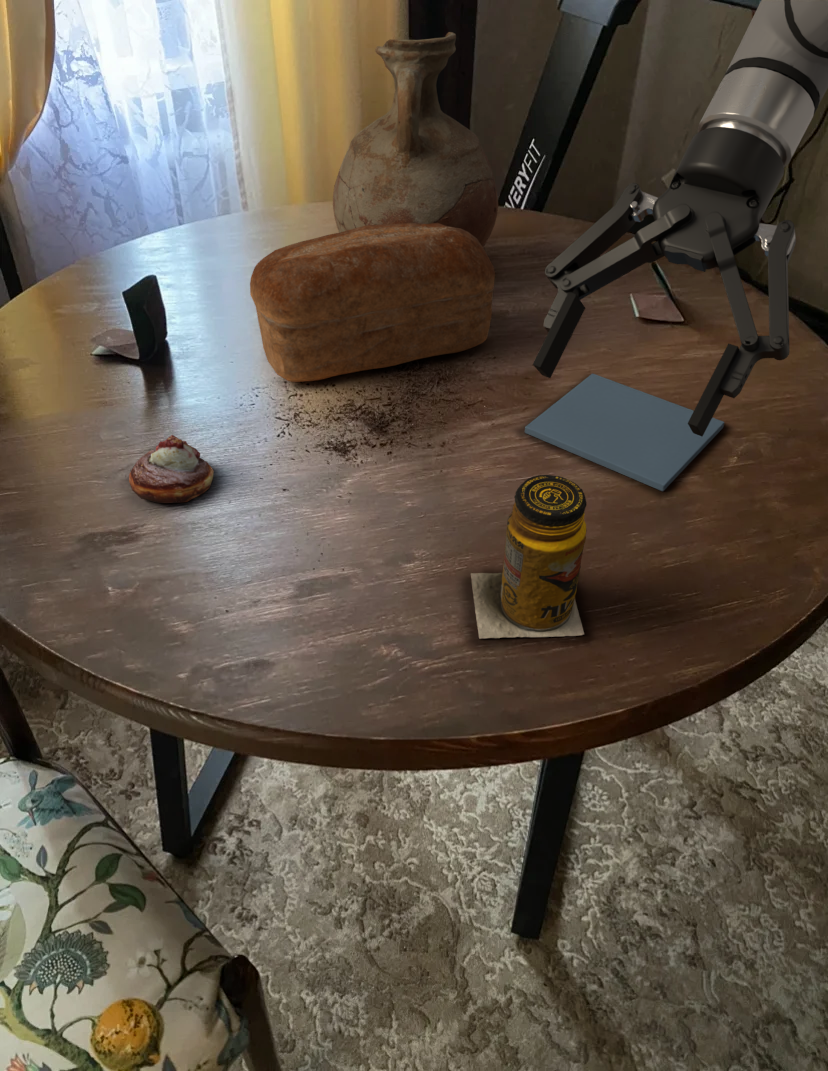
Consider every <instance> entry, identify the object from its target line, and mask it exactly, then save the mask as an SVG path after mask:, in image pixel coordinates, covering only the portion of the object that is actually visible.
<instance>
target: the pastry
mask: <svg viewBox="0 0 828 1071" xmlns="http://www.w3.org/2000/svg"><path fill="white" fill-rule="evenodd" d="M157 444H158V445H156V447H155V449H152V450H149V451H147V452H146V453H145V454H144V455H142V456H141V457H139V459H138V460H137V461H136V462H135V463H134V466H133V467H132V469H131V470H130V472H129V474H128V482H129V485H130V488H131V491H132V492H133V493H134V494H135V495H136V496H138V497H139V499H141V500H145V501H149V502H153V503H158V504H175V503H176V504H177V503H187V502H190V501H191V500H194V499H195V498H197V497H199V496H201V495H202V494H205V492H206V491H207V490H209V489H210V488H211V486H212V482H213V480H214V472H215V471H214V469H213V468H212V466H211V465H210V464H209V462H208V461H207V460H205V459H203V458H201V452H200V451H199V450H198V449H197V448H196V447H193V446H191V445H190V444H188V442H187V441H186V440H183V439H181V438H178V437H177V436H175V435H174V434H171V435H170V436H168V437H167V438H166V439H165V440H163V441H161V440H160V441H159V443H157Z"/></svg>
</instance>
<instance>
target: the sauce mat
mask: <svg viewBox="0 0 828 1071" xmlns="http://www.w3.org/2000/svg"><path fill="white" fill-rule="evenodd" d="M693 412H694V409H690V408H687V407H685V406H682V405H680V404H677V403H674V402H671V401H668V400H665V399H664V398H662V397H661V398H660V397H658V396H655V395H652V394H650V393H647V392H645V391H642V390H639V389H636V388H633V387H630V386H628V385H626V384H623V383H621V382H617V381H614V380H612V379H609V378H607V377H603V376H601V375H598V374H595V373H590V374H589V375H588V376H587V377H586V378H585V379H583V380H582V381H581V382H580V383H578V384H577V385H576V386H575V387H573V388H572V389H571V390H570V391H569V392H567V393H565V395H564V396H562V397H561V398H559V400H557V401H556V402H554V403H553V404H551V406H549V407H548V408H547V409H545V411H543V412H542V413H541V414H539V415H538V416H537V417H536V418H534V419H533V420H531V421H530V423H528V424H526V426H525V427H524V434H526V435H529V436H530V437H534V438H536V439H538V440H541V441H543V442H545V443H547V444H550V445H552V446H555V447H557V448H559V449H562V450H564V451H567V452H568V453H571V454H573V455H576V456H578V457H580V458H583V459H585V460H588V461H590V462H592V463H594V464H597V465H599V466H602V467H604V468H606V469H608V470H611V471H613V472H616V473H618V474H620V475H623V476H625V477H628V478H629V479H632V480H635V481H637V482H639V483H641V484H644V485H647V486H649V487H652V488H653V489H656V490H658V491H661V492H664V491H665V490H666V489H667V488H668V487H669V486H670V485H671V484H672V483H673V482H674V480H675V479H676V478H678V476H679V475H680V474H681V473H682V472H684V470H685V469H686V468H687V467H688V466H689V465H690V464H691V463H692V462H693V461H694V459H695V458H696V457H698V455H699V454H700V453H701V452H702V451H703V450H704V449H705V448H706V447H707V446H708V445H709V443H710V442H711V441H712V440H713V439H715V437H716V436H717V435H718V434H719V433H720V431H722V430H723V429H724V426H725V421H723V420H720V419H717V418H715V417H712V419H711V421H710V423H709V425H708V427H707V429H706V431H705V433H704V435H703V437H702V436H699V435H697V434H694V433H693V432H692V430H691V428H690V427H689V425H688V421H689V419H690V418H691V416H692V414H693Z"/></svg>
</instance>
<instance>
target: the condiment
mask: <svg viewBox="0 0 828 1071" xmlns="http://www.w3.org/2000/svg"><path fill="white" fill-rule="evenodd" d="M587 504H588V502H587V498H586V494H585V492H584V490H583V489H582V488H581V487H580V486H579V485H578V484H577V483H576V482H574V481H572V480H570V479H569V478H565V477H563V476H559V475H551V474H539V475H534V476H531V477H529V478H526V480H524V481H523V482H522V483H521V484H520V485H519V487H517V489H516V491H515V494H514V503H513V506H512V511H511V513H510V514H509V515H508V518H507V521H506V522H507V523H506V530H505V531H506V532H505V533H506V534H505V541H504V542H505V543H504V554H503V555H504V556H503V564H502V572H498V573H497V572H495V573H494V572H493V573H492V572H473V573H472V572H471V573H470V580H471V587H472V596H473V603H474V604H473V605H474V612H475V619H476V626H477V633H478V638H479V639H500V638H549V637H551V638H552V637H576V636H578V637H579V636H583V635H585V632H584V627H583V623H582V620H581V617H580V613H579V610H578V605H577V602H576V594H577V588H578V582H579V576H580V573H581V572H580V571H581V567H582V559H583V554H584V550H585V549H584V548H585V544H586V540H587V523H586V521H585V515H586V514H585V511H586V507H587Z"/></svg>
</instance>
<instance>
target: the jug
mask: <svg viewBox="0 0 828 1071" xmlns="http://www.w3.org/2000/svg"><path fill="white" fill-rule="evenodd" d="M456 40H457V34H456V33H454V32H452V31H448V32H447V33H446V34H445V35H444V36H443V37H434V38H425V39H399V38H397V39H396V38H395V39H393V38H392V39H390V38H389V39H388V40H386V42H384V44H383V45H381V46H380V45H378V46H376V47H375V48H374V49H375V50H374V52H375V53H376V54H377V55H378V56H379V57H381V59H382V61H383V63H384V67H385V68H386V69H387V70H388V71H389V72H390V74H391V76H392V78H393V84H394V90H395V91H394V96H393V100H392V104H391V108H390V109H389V111H387V113H385V114H384V115H382V116H380V117H378V118H377V119H375V120H374V121H373V122H371V123H370V124H368V125H367V126H366V127H364V128H363V129H361V130H360V131H359V132H358V133H357V134H355V135H354V137H353V138H352V139H351V140H350V143H349V146H348V148H347V150H346V153H345V154H344V157H343V159H342V161H341V164H340V167H339V170H338V173H337V176H336V179H335V183H334V185H333V194H332V210H333V216H334V221H335V225H336V228H337V231H338V233H340V232H344V231H347V230H351V229H355V228H358V227H362V226H366V225H391V224H407V223H417V224H432V223H439V224H442V225H445V226H449V227H455V228H460V229H463V230H465V231H467V232H469V233H470V234H471V235H473V236H474V237H476V238H477V239H478V241H479V242H480V244H481V245H482V247H483V248H484V247H485V245H486V244H487V242H488V240H489V238H490V236H491V235H492V232H493V230H494V227H495V225H496V222H497V218H498V210H499V198H498V191H497V190H498V189H497V186H496V181H495V176H494V173H493V169H492V166H491V163H490V161H489V159H488V156H487V154H486V152H485V151H484V148H483V146H482V144H481V142H480V139H479V137H478V135H476V134H475V133H474V132H473V131H472V130H470V129H469V128H467V127H466V126H465V125H463V124H462V123H460V122H459V121H457V120H456V119H455V118H453V117H451V116H450V115H448V114H446V113H445V112H443V111H442V109H441V106H440V103H439V97H438V91H437V81H438V77H439V75H440V73H441V72H442V71H443V70H444V69H445V68H446V66H447V64H448V61H449V58H450V57H451V56H452V55H453V54H454V53H455V52H456V50H457V47H456Z"/></svg>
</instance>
